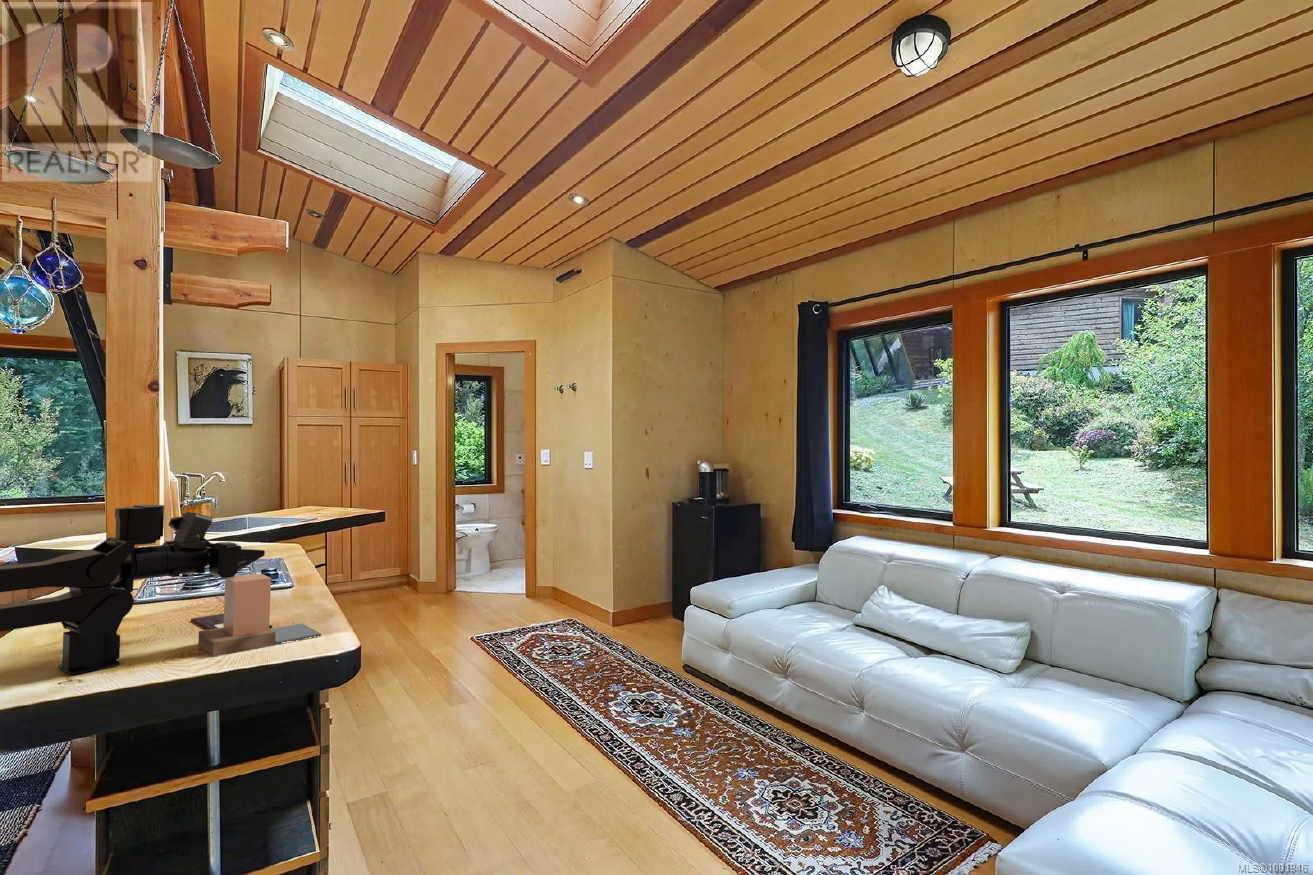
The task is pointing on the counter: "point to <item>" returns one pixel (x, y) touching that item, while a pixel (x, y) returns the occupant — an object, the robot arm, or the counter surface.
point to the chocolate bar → (211, 621)
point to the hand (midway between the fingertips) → (252, 550)
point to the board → (233, 641)
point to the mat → (294, 633)
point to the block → (247, 604)
